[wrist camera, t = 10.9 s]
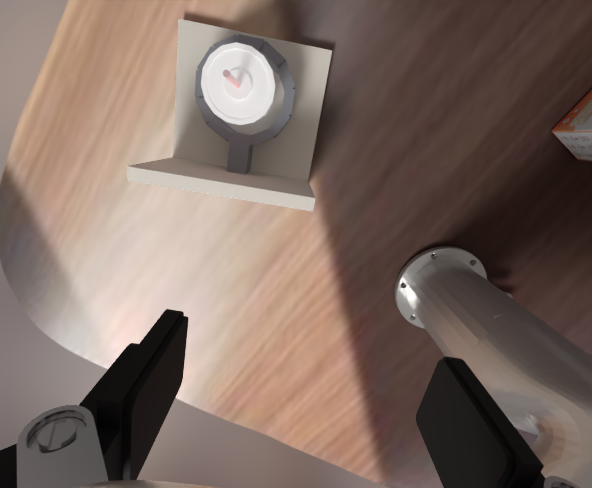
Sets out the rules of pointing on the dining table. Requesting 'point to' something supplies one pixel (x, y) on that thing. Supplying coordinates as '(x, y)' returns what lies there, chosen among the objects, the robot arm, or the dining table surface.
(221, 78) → the beverage cup
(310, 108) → the bracket
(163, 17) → the dining table surface
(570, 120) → the cracker box
